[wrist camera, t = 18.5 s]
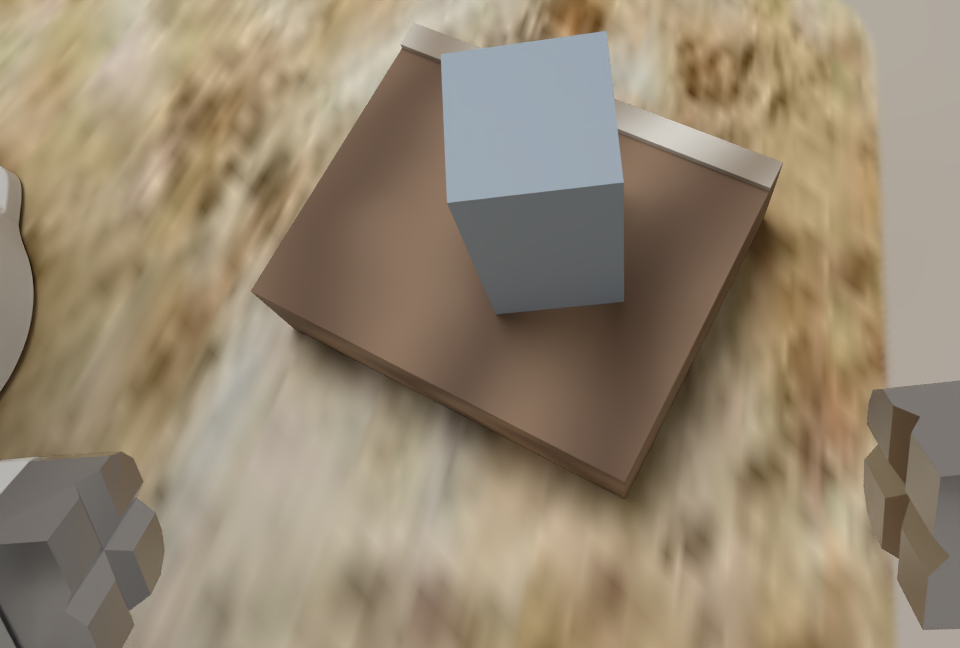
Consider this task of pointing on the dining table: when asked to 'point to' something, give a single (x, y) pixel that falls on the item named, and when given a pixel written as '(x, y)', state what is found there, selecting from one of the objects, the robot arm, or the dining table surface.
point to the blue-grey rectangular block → (537, 171)
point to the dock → (522, 335)
